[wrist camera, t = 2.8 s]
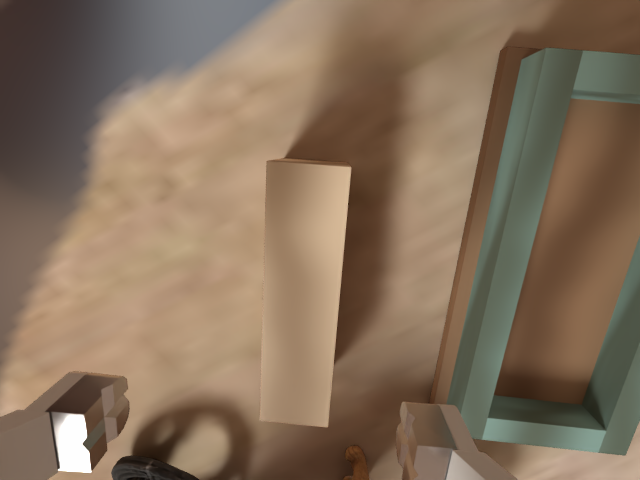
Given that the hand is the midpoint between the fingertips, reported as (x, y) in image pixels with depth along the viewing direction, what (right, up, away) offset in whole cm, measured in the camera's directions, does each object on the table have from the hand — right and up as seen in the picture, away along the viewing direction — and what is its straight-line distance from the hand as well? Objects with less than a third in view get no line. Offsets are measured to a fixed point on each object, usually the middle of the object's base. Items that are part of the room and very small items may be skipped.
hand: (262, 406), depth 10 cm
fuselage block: (+1, +3, +11) cm, 11 cm away
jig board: (+15, +4, +9) cm, 18 cm away
